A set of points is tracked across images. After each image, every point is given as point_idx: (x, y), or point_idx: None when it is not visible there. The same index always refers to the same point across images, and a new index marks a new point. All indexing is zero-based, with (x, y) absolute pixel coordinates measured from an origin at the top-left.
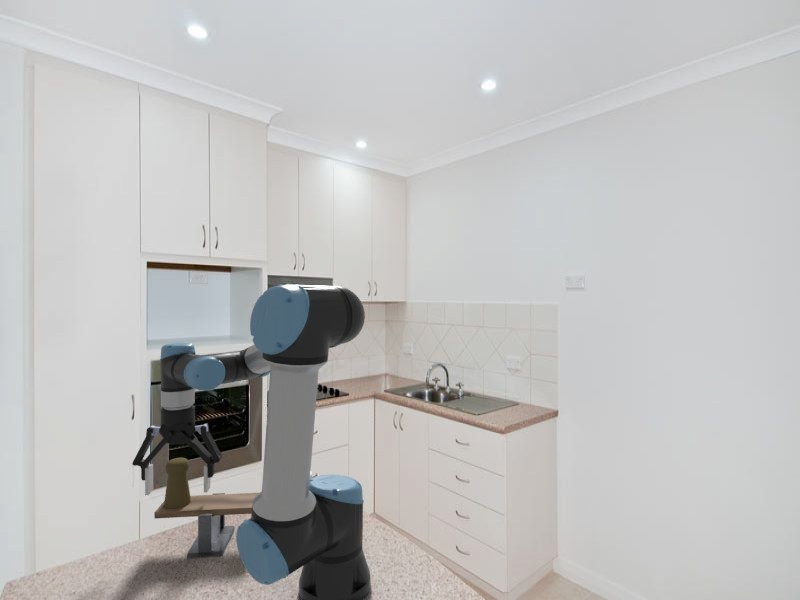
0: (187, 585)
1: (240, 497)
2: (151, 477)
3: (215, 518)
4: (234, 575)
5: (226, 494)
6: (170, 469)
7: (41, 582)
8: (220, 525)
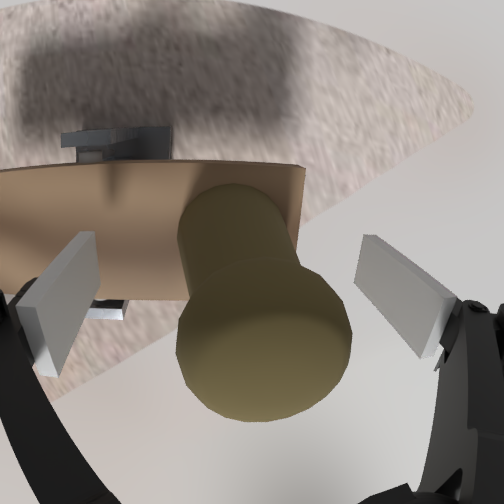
0: (140, 16)
1: (4, 262)
2: (392, 299)
3: None
4: (41, 54)
5: None
6: (301, 271)
7: (451, 110)
8: None
